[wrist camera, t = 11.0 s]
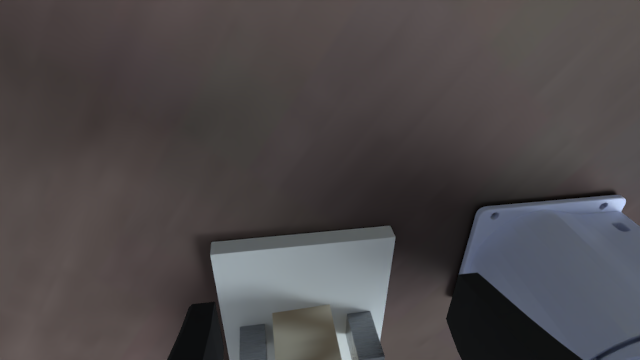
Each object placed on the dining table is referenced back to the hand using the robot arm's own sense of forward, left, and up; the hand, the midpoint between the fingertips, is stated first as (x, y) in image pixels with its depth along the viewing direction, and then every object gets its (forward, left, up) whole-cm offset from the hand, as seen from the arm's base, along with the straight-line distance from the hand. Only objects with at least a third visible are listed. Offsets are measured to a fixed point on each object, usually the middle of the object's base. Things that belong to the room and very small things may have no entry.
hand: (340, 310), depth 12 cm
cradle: (0, +17, -9) cm, 19 cm away
